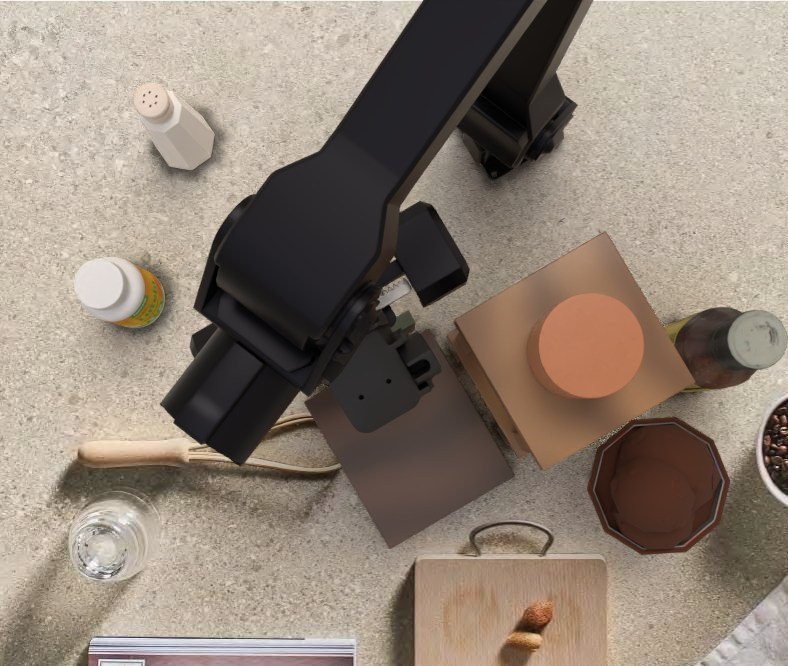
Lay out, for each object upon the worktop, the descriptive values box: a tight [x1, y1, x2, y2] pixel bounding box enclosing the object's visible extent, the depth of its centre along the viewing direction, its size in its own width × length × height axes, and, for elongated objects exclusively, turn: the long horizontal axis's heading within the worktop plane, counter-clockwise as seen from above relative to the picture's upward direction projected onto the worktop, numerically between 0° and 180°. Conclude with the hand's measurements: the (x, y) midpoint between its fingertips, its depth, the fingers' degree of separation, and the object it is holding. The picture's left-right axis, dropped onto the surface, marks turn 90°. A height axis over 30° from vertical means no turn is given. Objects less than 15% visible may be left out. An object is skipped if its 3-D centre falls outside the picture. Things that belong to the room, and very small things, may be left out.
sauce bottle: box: [663, 306, 788, 393], centre depth 68 cm, size 7×6×20 cm
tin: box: [527, 293, 644, 399], centre depth 52 cm, size 6×6×5 cm
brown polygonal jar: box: [586, 416, 731, 556], centre depth 71 cm, size 11×11×15 cm
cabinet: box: [303, 328, 516, 550], centre depth 74 cm, size 14×12×9 cm
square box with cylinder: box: [445, 230, 695, 472], centre depth 67 cm, size 11×11×24 cm
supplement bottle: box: [73, 255, 166, 329], centre depth 74 cm, size 5×5×10 cm
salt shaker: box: [132, 81, 216, 171], centre depth 74 cm, size 5×5×11 cm
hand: (340, 320), depth 67 cm, fingers closed
